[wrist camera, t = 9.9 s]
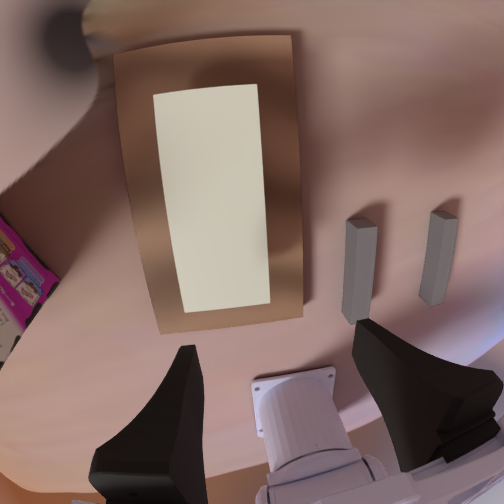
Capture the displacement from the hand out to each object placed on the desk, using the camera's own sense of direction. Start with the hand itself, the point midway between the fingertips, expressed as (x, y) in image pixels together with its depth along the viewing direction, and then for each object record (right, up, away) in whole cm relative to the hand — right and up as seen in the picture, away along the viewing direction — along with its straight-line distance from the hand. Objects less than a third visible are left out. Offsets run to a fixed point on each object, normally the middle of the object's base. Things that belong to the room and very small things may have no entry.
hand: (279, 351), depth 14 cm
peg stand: (-4, +8, +7) cm, 12 cm away
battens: (+11, +4, +11) cm, 16 cm away
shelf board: (-3, +7, +4) cm, 9 cm away
